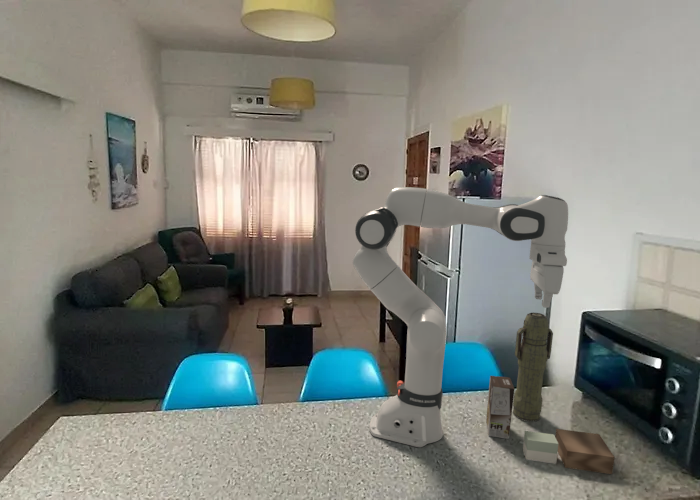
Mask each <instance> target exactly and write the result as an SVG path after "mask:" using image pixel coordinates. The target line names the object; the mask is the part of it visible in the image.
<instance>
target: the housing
mask: <svg viewBox="0 0 700 500" xmlns="http://www.w3.org/2000/svg"><path fill="white" fill-rule="evenodd" d="M523 435H524V436H523V443H522V444H523V445H522V451H523V455H524V457H525V460H528V461H535V462H536V461H537V462H543V463H549V464H554V465H555V464H557V461H558V460H557V459H558V442H557V440H556V438H555V434H552V433H545V432H536V431H529V430H524V434H523Z"/></svg>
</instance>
